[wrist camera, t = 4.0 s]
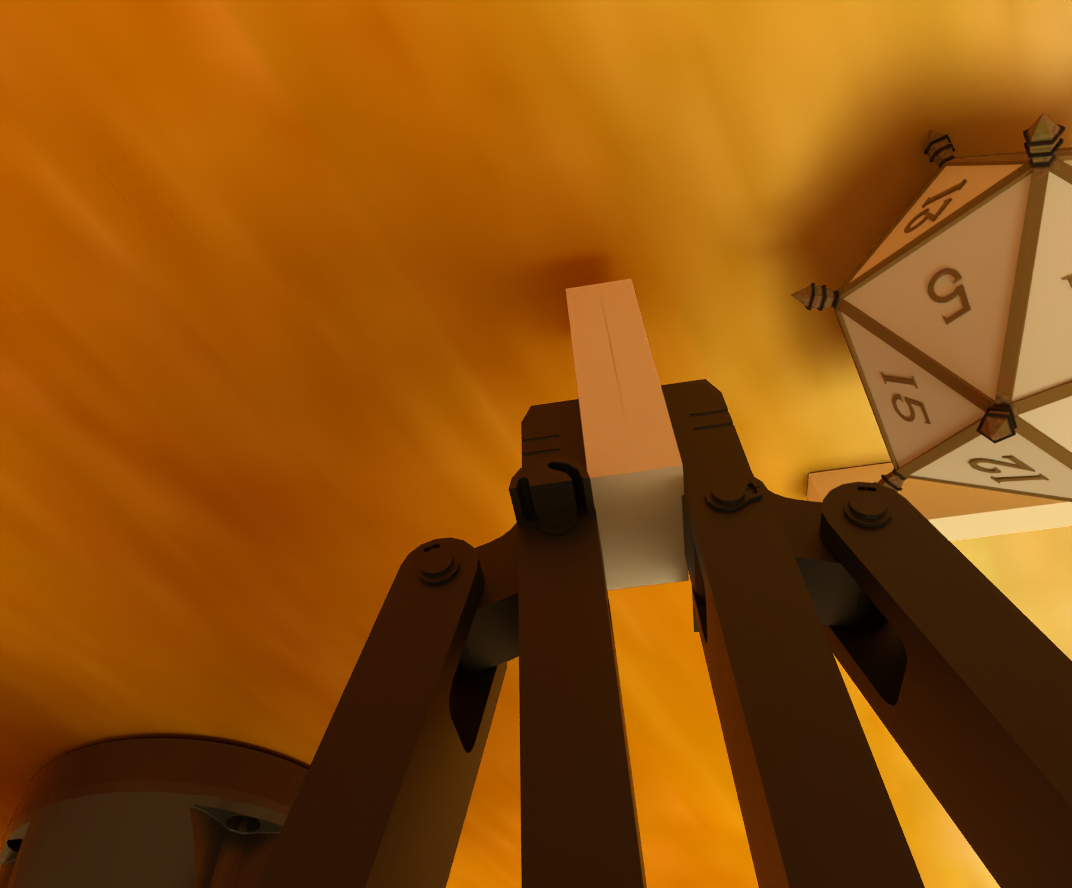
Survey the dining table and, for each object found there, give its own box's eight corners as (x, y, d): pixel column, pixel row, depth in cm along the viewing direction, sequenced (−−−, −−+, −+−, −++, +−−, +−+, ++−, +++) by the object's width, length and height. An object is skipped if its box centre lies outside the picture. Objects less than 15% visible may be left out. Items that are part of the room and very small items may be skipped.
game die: (923, 117, 20) (1488, -100, 11) (1013, 395, 22) (1553, 410, 13) (663, 259, 18) (1100, 137, 9) (790, 556, 20) (1255, 713, 11)
